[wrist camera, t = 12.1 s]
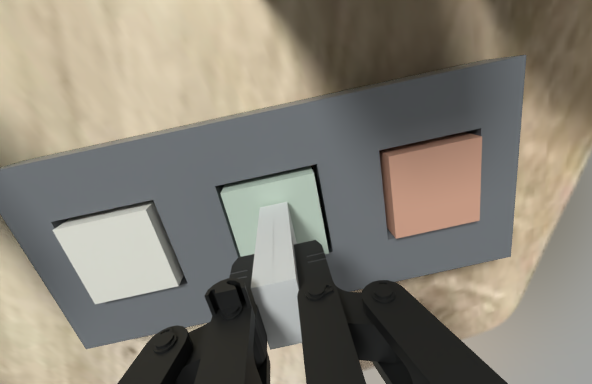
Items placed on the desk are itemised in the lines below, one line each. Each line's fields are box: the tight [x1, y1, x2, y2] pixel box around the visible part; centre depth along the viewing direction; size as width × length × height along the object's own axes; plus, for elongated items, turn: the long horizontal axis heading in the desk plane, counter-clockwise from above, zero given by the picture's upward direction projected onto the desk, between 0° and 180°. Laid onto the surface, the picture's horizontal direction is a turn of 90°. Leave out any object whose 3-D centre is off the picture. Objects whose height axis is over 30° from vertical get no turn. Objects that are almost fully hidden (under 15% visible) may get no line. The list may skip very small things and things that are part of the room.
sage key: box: [220, 166, 329, 257], centre depth 17 cm, size 5×5×3 cm
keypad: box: [0, 55, 526, 349], centre depth 18 cm, size 28×12×3 cm, turn 102°
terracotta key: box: [379, 132, 482, 239], centre depth 17 cm, size 5×5×3 cm
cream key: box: [53, 200, 184, 304], centre depth 17 cm, size 5×5×3 cm
